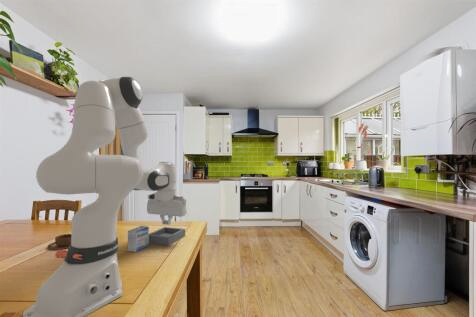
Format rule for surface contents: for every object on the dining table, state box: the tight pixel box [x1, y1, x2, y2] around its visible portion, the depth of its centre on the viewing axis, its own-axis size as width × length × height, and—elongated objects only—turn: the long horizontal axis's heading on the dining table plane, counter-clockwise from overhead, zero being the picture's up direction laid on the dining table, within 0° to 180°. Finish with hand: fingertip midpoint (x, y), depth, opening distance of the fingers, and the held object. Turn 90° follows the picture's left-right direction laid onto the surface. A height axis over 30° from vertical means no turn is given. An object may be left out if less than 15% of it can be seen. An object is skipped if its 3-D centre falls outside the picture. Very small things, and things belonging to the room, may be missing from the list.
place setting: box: [40, 233, 71, 252], centre depth 101 cm, size 18×20×6 cm
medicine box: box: [127, 225, 150, 253], centre depth 102 cm, size 8×4×9 cm, turn 161°
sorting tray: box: [149, 226, 186, 247], centre depth 114 cm, size 12×14×4 cm
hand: (166, 224), depth 114 cm, fingers closed
